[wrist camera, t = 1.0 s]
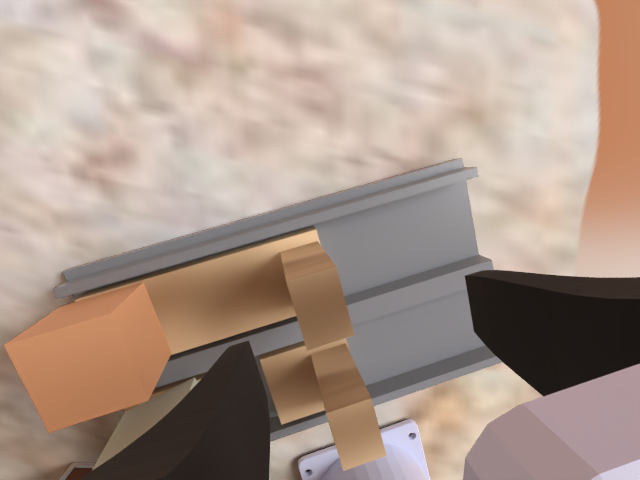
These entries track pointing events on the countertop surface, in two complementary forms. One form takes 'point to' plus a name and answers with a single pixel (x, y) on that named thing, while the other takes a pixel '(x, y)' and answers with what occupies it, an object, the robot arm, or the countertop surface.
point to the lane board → (352, 282)
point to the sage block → (143, 419)
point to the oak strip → (248, 293)
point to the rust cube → (91, 357)
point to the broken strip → (320, 396)
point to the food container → (77, 470)
